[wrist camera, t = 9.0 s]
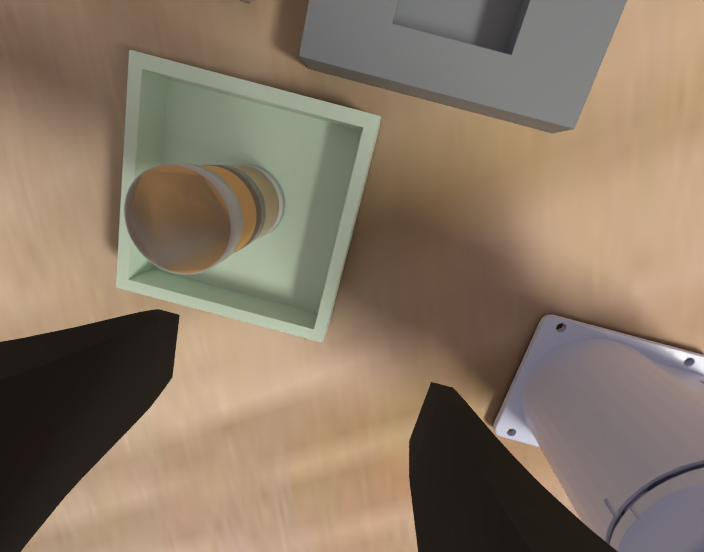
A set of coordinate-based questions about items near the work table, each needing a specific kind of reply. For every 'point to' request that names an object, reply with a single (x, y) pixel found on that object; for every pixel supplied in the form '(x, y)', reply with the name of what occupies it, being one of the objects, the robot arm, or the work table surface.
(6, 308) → the work table surface
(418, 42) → the fuse block
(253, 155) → the parts tray
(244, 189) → the fuse
